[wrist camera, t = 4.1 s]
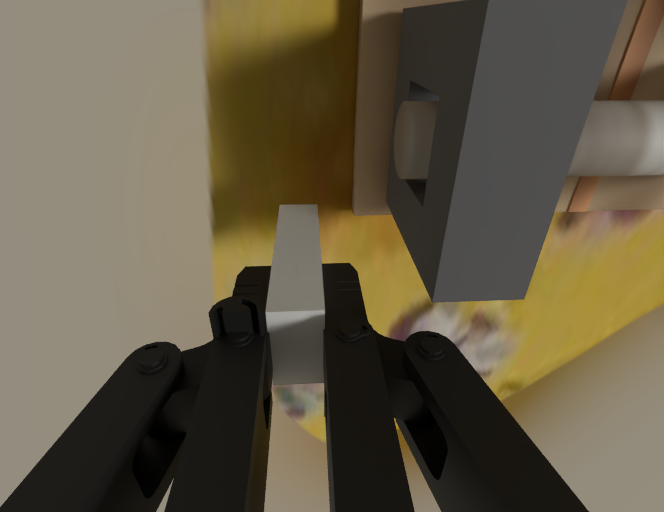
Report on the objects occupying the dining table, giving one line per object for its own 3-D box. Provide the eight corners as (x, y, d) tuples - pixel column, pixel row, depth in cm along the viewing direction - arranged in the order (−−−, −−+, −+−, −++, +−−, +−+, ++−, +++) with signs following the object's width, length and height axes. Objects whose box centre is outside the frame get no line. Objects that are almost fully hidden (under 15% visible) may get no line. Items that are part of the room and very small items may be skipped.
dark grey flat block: (385, 200, 19) (432, 302, 12) (403, 8, 15) (489, -4, 8) (445, 199, 19) (523, 299, 12) (478, 9, 15) (628, -2, 8)
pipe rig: (351, 207, 20) (377, 308, 13) (360, -21, 15) (411, -59, 8) (666, 201, 22) (849, 291, 14) (776, -14, 16) (1153, -43, 9)
